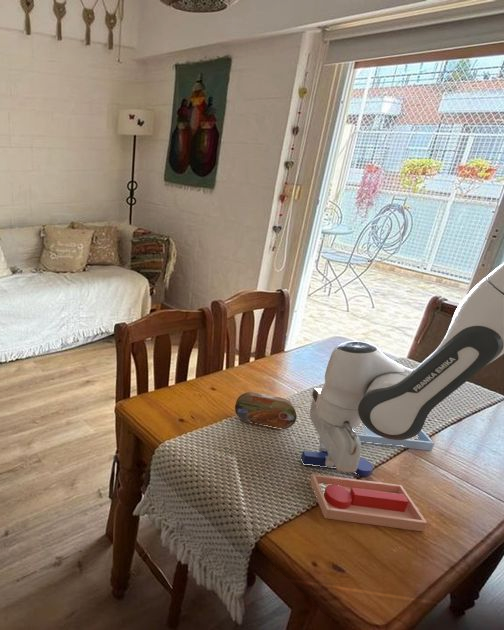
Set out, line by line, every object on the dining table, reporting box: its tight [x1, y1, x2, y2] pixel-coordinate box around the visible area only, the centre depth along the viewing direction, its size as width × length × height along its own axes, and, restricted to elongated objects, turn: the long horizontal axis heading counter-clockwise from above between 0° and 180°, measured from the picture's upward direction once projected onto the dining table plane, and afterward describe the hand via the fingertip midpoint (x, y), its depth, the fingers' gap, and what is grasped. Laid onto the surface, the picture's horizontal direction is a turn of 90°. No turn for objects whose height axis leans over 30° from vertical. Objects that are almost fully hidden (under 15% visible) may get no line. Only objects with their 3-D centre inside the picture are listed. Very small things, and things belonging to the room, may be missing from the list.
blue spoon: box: [300, 450, 374, 478], centre depth 102 cm, size 15×5×3 cm, turn 80°
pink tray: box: [309, 473, 428, 532], centre depth 91 cm, size 18×10×2 cm, turn 80°
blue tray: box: [355, 426, 435, 452], centre depth 114 cm, size 18×10×2 cm, turn 80°
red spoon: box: [324, 485, 408, 512], centre depth 91 cm, size 15×5×3 cm, turn 80°
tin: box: [234, 391, 298, 430], centre depth 116 cm, size 15×3×8 cm, turn 68°
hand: (325, 459), depth 102 cm, fingers closed on blue spoon, 2 cm apart
